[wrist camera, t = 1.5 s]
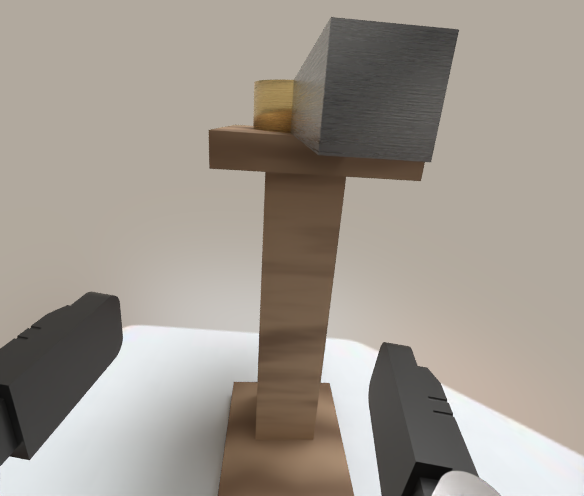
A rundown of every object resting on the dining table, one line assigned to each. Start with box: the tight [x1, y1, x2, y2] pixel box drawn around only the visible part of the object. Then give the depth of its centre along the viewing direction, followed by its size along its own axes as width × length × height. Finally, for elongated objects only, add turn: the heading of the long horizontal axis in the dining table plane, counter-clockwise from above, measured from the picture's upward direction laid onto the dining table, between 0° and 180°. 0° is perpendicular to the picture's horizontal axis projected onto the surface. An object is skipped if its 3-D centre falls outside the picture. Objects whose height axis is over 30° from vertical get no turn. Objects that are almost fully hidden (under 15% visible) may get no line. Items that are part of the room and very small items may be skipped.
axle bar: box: [253, 17, 459, 162], centre depth 18 cm, size 21×8×3 cm, turn 3°
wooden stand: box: [209, 125, 425, 496], centre depth 30 cm, size 14×12×32 cm
